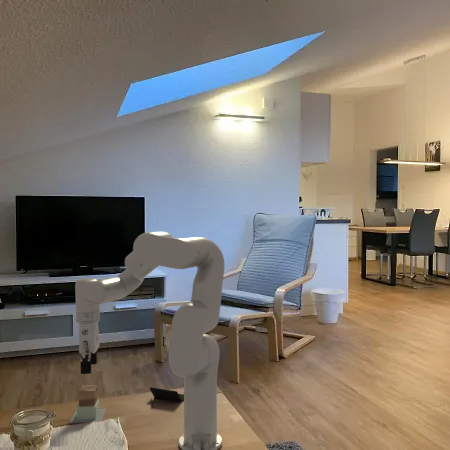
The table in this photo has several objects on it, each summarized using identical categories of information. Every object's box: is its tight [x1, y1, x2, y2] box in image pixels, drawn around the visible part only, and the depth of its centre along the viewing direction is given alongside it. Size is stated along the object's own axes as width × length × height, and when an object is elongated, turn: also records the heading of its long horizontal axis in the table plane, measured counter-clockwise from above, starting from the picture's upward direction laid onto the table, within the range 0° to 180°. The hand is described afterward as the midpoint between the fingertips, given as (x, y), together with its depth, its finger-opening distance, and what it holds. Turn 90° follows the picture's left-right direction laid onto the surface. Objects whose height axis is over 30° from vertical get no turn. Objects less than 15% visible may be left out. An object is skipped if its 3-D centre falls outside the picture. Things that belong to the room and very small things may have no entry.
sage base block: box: [76, 398, 100, 420], centre depth 153 cm, size 6×6×4 cm
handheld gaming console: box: [149, 386, 184, 404], centre depth 168 cm, size 12×7×10 cm
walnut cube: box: [78, 384, 99, 407], centre depth 153 cm, size 5×5×5 cm
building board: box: [68, 408, 107, 424], centre depth 153 cm, size 10×10×1 cm
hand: (89, 368), depth 152 cm, fingers open, 9 cm apart
